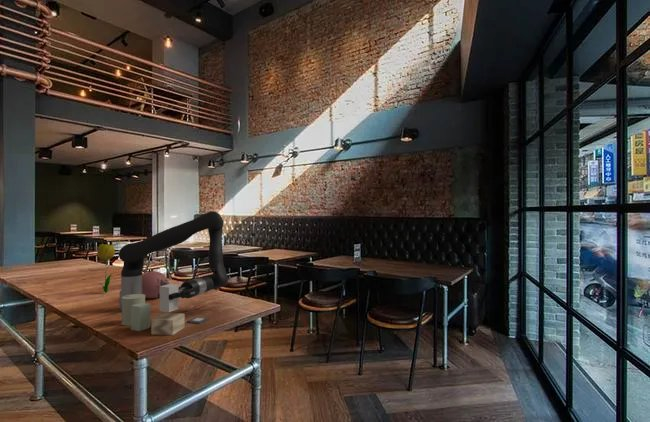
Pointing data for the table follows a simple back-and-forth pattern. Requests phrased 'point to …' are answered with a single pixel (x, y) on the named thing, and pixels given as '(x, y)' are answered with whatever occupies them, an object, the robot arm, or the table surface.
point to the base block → (168, 324)
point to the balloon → (153, 283)
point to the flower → (106, 254)
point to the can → (126, 306)
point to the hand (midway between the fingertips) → (164, 296)
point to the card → (198, 320)
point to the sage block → (140, 316)
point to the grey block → (165, 303)
